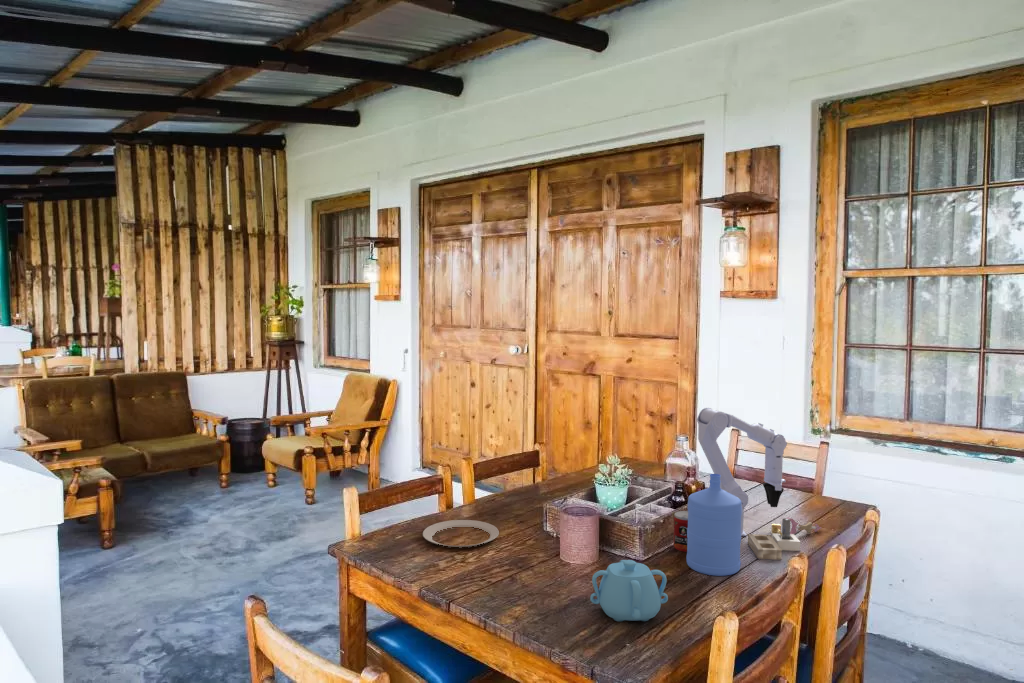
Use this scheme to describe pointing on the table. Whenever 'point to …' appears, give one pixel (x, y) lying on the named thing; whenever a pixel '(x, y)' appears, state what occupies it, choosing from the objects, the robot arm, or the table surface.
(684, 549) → the canned food
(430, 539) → the plate
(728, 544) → the water jug
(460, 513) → the table surface
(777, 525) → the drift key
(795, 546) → the socket block
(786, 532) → the drill bit
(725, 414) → the robot arm
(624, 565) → the decorative pot
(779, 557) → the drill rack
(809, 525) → the decorative key
